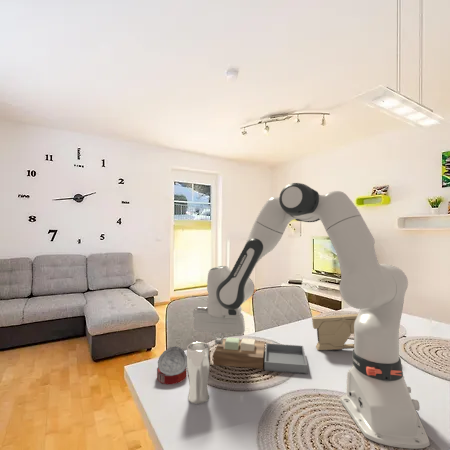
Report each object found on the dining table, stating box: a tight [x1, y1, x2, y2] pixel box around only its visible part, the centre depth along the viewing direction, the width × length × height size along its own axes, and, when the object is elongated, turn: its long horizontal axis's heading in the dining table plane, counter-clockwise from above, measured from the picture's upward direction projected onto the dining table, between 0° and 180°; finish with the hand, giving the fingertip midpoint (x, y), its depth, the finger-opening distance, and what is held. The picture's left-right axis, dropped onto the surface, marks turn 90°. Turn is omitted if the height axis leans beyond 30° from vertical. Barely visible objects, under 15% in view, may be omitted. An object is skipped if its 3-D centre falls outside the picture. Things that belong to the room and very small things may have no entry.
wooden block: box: [212, 338, 266, 370], centre depth 107 cm, size 14×18×4 cm
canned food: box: [156, 346, 188, 385], centre depth 94 cm, size 11×10×10 cm
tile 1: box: [225, 337, 241, 350], centre depth 107 cm, size 5×5×2 cm
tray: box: [264, 342, 309, 375], centre depth 104 cm, size 16×14×3 cm
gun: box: [311, 313, 358, 352], centre depth 113 cm, size 24×3×15 cm, turn 84°
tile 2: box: [241, 338, 256, 351], centre depth 106 cm, size 5×5×2 cm
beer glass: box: [186, 341, 211, 405], centre depth 82 cm, size 7×7×15 cm
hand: (218, 343), depth 108 cm, fingers closed
